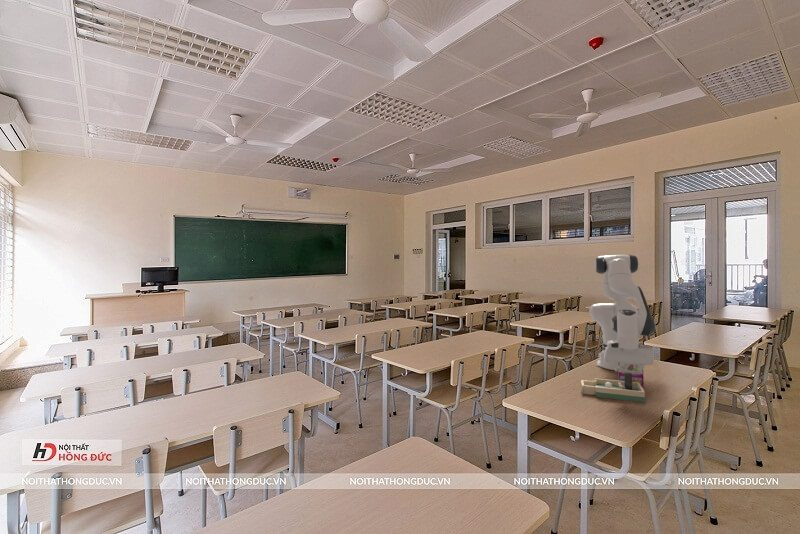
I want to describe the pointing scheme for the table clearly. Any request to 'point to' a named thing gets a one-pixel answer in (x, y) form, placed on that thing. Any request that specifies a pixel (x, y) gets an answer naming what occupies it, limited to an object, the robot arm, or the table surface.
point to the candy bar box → (631, 369)
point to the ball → (608, 385)
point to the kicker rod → (626, 382)
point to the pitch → (613, 390)
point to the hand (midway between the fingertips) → (628, 372)
